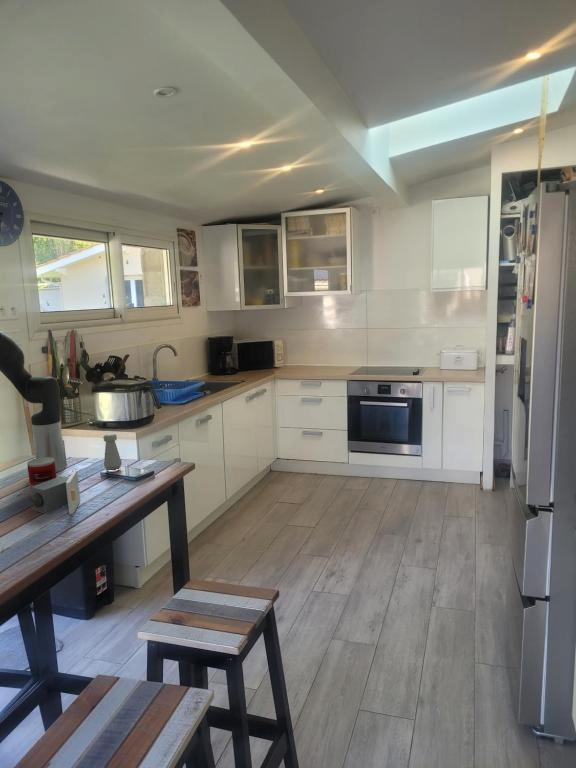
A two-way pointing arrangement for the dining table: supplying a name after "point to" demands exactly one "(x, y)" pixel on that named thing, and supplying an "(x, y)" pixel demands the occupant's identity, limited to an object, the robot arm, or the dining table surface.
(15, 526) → the dining table surface
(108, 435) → the salt shaker
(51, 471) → the canned food
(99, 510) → the dining table surface
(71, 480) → the side door
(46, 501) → the block
